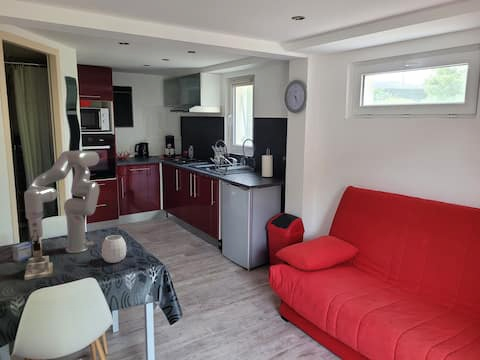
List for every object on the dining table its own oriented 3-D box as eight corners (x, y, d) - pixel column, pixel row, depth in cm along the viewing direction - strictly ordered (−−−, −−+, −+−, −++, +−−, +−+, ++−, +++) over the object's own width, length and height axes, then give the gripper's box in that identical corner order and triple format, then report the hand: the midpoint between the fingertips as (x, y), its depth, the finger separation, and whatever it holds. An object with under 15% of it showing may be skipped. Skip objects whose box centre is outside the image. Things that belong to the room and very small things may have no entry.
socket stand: (52, 264, 191) (51, 253, 190) (52, 275, 179) (51, 263, 178) (26, 268, 186) (25, 257, 184) (24, 280, 173) (23, 267, 172)
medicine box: (19, 262, 193) (17, 247, 191) (13, 260, 194) (11, 245, 193) (32, 256, 200) (30, 242, 199) (26, 255, 202) (24, 241, 200)
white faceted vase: (123, 265, 194) (122, 241, 191) (98, 265, 193) (97, 241, 190) (129, 255, 207) (128, 233, 204) (106, 255, 206) (105, 233, 203)
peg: (42, 256, 183) (40, 230, 181) (42, 259, 180) (40, 233, 177) (33, 257, 181) (31, 231, 179) (33, 260, 178) (31, 234, 175)
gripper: (42, 218, 171) (45, 254, 174) (43, 209, 185) (46, 242, 189) (24, 219, 167) (27, 256, 171) (27, 210, 182) (29, 244, 185)
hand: (37, 248), depth 180 cm, fingers closed on peg, 4 cm apart
